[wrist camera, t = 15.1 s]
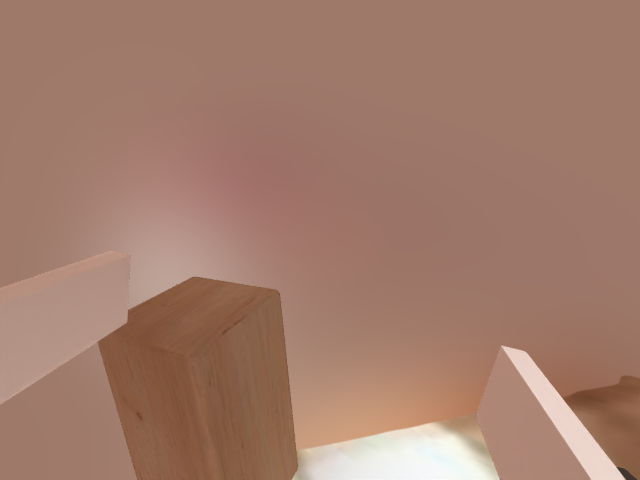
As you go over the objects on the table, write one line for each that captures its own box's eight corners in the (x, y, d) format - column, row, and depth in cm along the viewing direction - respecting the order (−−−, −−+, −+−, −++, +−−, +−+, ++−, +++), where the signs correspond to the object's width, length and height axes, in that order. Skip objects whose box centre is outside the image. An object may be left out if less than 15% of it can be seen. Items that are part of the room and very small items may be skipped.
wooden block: (147, 524, 31) (89, 326, 25) (223, 436, 39) (193, 274, 33) (237, 580, 26) (193, 357, 20) (300, 468, 35) (281, 288, 29)
